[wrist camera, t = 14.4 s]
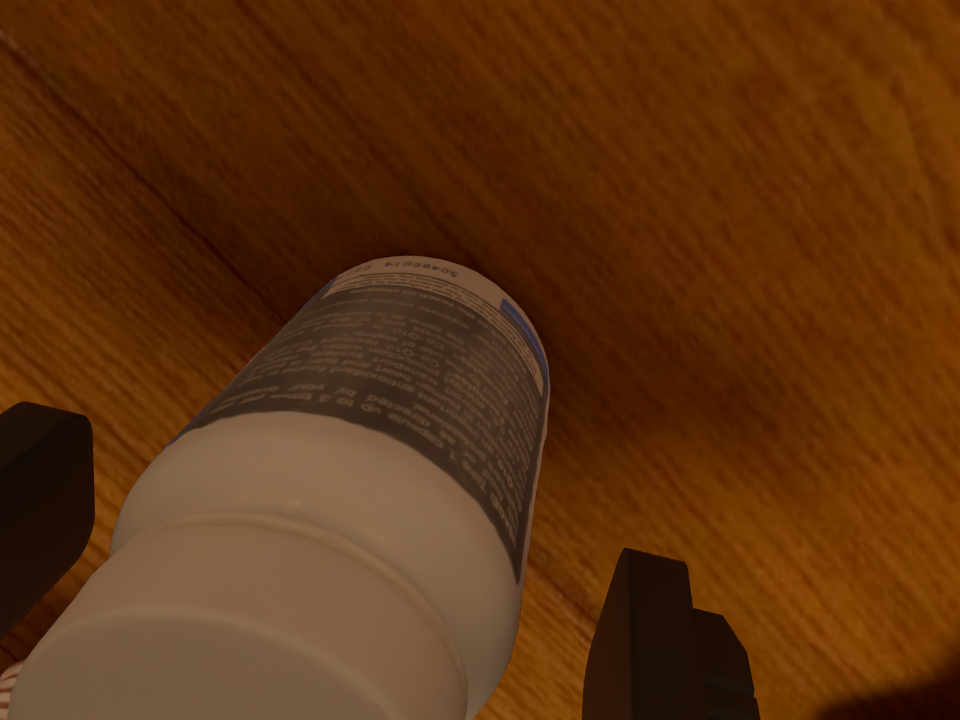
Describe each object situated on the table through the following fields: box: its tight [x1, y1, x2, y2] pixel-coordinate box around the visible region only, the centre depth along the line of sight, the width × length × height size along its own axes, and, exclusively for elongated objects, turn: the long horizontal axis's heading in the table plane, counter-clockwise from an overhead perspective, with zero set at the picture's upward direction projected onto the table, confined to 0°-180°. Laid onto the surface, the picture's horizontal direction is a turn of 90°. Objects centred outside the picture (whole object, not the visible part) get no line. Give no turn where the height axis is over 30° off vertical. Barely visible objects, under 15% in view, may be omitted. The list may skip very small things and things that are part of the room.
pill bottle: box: [7, 256, 550, 720], centre depth 11 cm, size 5×5×8 cm
